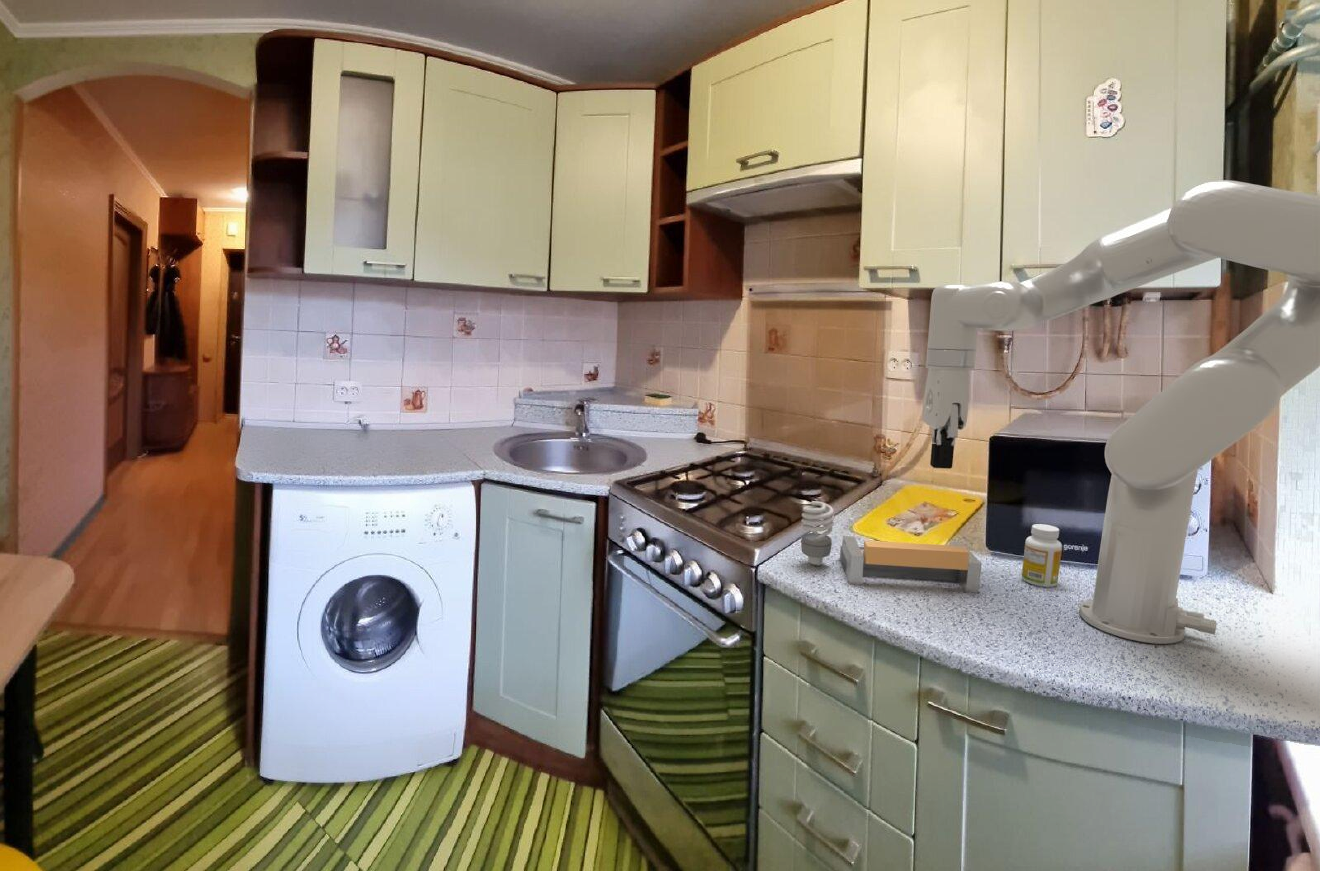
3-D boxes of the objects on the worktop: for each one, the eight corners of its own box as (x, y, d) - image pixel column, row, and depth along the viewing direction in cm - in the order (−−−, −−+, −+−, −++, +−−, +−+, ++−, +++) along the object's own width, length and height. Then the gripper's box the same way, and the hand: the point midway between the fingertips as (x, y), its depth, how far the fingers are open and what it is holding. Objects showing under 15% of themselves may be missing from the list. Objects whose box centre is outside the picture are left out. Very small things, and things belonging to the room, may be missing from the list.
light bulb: (795, 560, 119) (798, 497, 117) (824, 559, 119) (828, 496, 117) (805, 572, 113) (808, 506, 111) (835, 571, 114) (839, 505, 112)
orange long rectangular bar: (961, 563, 107) (963, 546, 107) (967, 570, 104) (969, 552, 104) (862, 557, 109) (864, 540, 109) (865, 563, 107) (867, 546, 106)
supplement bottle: (1047, 576, 113) (1054, 523, 111) (1063, 588, 107) (1070, 533, 106) (1015, 574, 113) (1021, 521, 112) (1029, 587, 108) (1036, 531, 106)
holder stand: (955, 565, 117) (958, 539, 116) (978, 592, 105) (981, 563, 105) (839, 558, 120) (841, 532, 119) (849, 583, 108) (851, 555, 107)
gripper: (915, 357, 115) (907, 457, 119) (939, 362, 101) (929, 476, 104) (959, 358, 114) (950, 459, 118) (990, 363, 100) (978, 478, 103)
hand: (940, 467), depth 111 cm, fingers closed
